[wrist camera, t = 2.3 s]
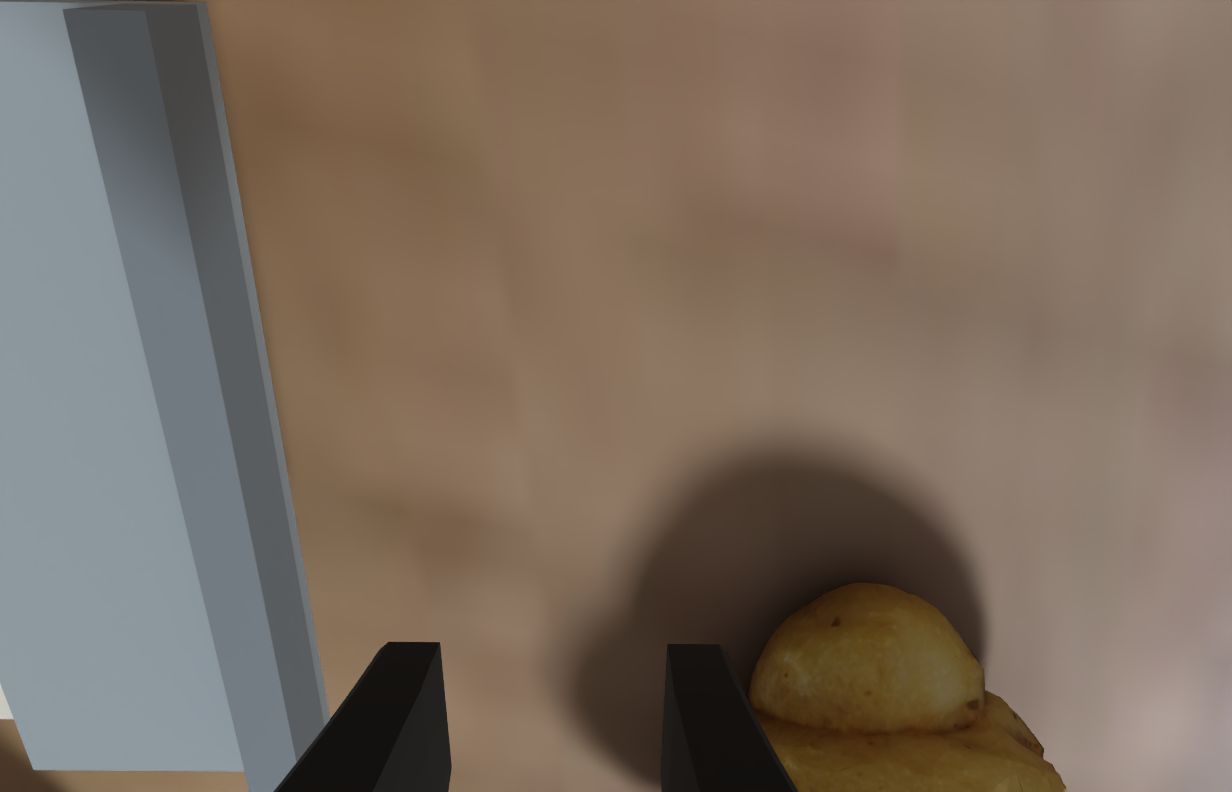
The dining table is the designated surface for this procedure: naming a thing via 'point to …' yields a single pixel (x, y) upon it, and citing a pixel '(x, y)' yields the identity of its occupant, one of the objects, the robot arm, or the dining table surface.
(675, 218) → the dining table surface
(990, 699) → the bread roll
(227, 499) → the flap
